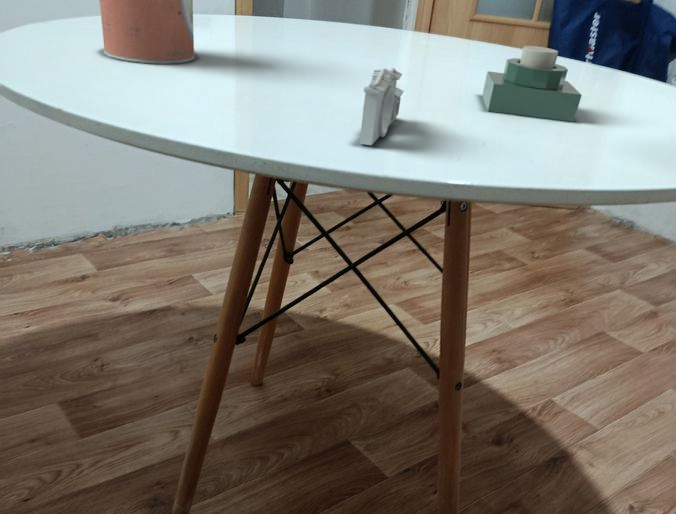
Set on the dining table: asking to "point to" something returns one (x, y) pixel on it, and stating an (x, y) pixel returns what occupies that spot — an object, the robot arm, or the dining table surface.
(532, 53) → the white short cylinder
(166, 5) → the canned food
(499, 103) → the dispenser
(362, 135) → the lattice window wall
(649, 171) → the dining table surface
